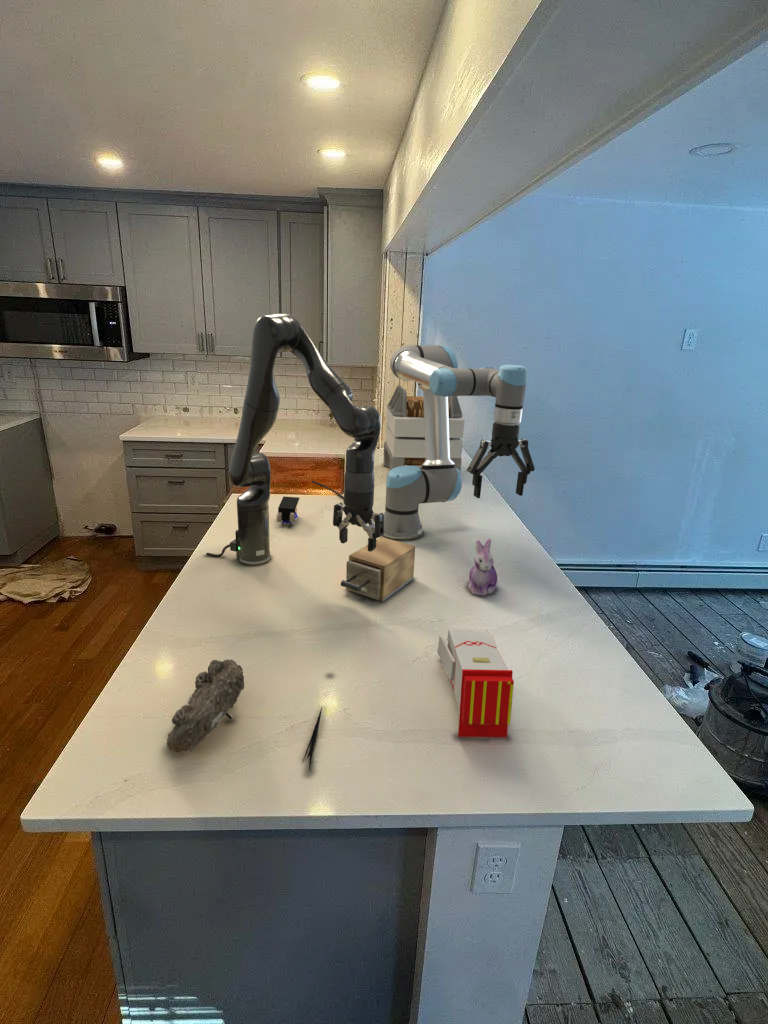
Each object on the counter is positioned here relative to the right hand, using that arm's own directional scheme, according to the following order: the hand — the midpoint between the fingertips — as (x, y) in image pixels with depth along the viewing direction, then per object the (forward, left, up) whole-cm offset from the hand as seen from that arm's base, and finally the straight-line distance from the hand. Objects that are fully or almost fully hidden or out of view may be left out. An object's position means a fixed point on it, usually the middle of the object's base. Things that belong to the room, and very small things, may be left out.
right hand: (498, 495), depth 164 cm
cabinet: (-14, -31, -25) cm, 42 cm away
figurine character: (-72, -27, -25) cm, 80 cm away
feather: (+22, -78, -25) cm, 84 cm away
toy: (+34, -48, -25) cm, 64 cm away
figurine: (+5, -10, -25) cm, 27 cm away
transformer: (-92, +60, -25) cm, 113 cm away
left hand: (-10, -44, -9) cm, 46 cm away
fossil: (+9, -93, -25) cm, 97 cm away
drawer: (-12, -36, -24) cm, 45 cm away
